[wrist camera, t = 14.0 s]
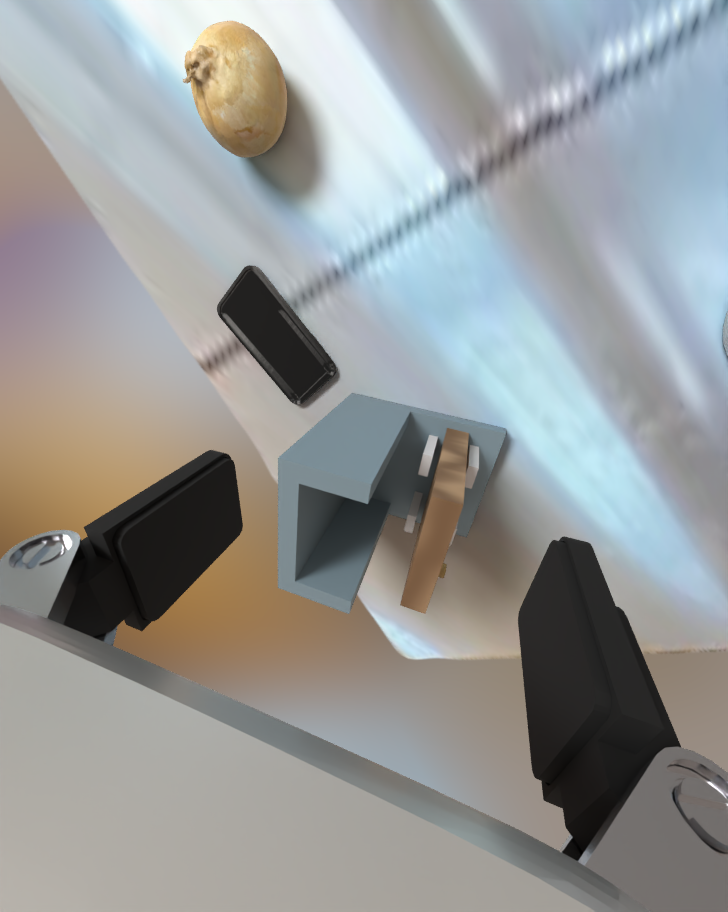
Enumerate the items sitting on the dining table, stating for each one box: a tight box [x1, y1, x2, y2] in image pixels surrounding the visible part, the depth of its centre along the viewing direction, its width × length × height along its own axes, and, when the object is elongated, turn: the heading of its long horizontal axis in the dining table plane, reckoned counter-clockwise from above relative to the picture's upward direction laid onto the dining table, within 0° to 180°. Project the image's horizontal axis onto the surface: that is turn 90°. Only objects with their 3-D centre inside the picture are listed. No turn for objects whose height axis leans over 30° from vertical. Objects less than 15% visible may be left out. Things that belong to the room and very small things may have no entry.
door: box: [400, 428, 469, 614], centre depth 34 cm, size 3×13×14 cm, turn 172°
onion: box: [183, 21, 287, 157], centre depth 28 cm, size 8×8×7 cm
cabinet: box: [278, 393, 506, 614], centre depth 35 cm, size 18×15×18 cm
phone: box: [217, 266, 336, 405], centre depth 40 cm, size 8×1×15 cm
